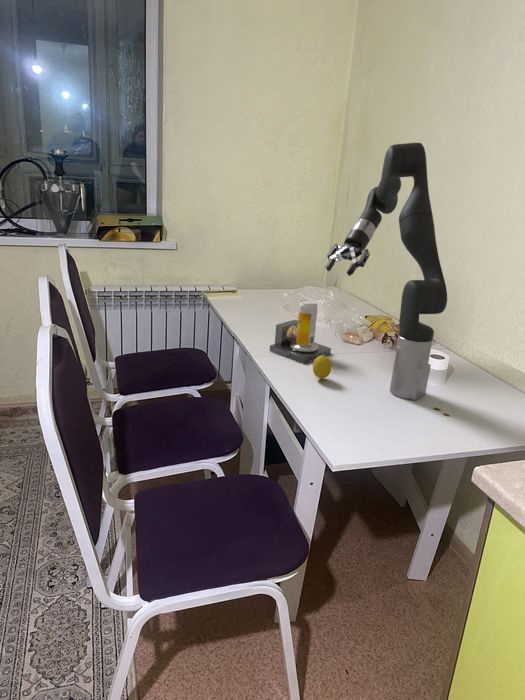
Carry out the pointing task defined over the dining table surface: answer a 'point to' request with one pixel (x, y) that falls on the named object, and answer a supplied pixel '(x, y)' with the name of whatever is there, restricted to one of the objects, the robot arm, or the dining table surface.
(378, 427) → the dining table surface
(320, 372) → the lemon
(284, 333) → the scale
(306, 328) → the beer can
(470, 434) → the dining table surface
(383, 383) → the dining table surface
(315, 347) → the pan
